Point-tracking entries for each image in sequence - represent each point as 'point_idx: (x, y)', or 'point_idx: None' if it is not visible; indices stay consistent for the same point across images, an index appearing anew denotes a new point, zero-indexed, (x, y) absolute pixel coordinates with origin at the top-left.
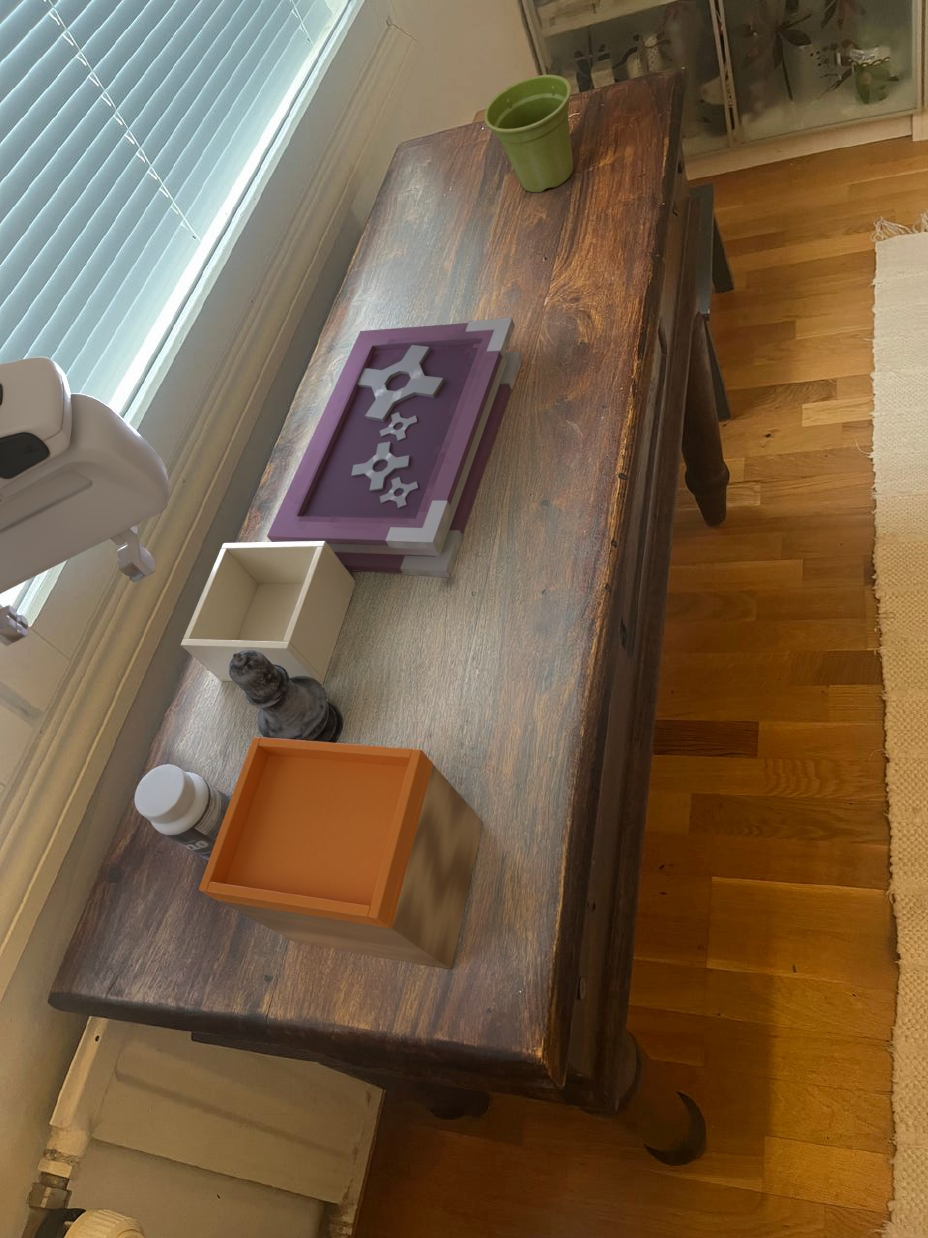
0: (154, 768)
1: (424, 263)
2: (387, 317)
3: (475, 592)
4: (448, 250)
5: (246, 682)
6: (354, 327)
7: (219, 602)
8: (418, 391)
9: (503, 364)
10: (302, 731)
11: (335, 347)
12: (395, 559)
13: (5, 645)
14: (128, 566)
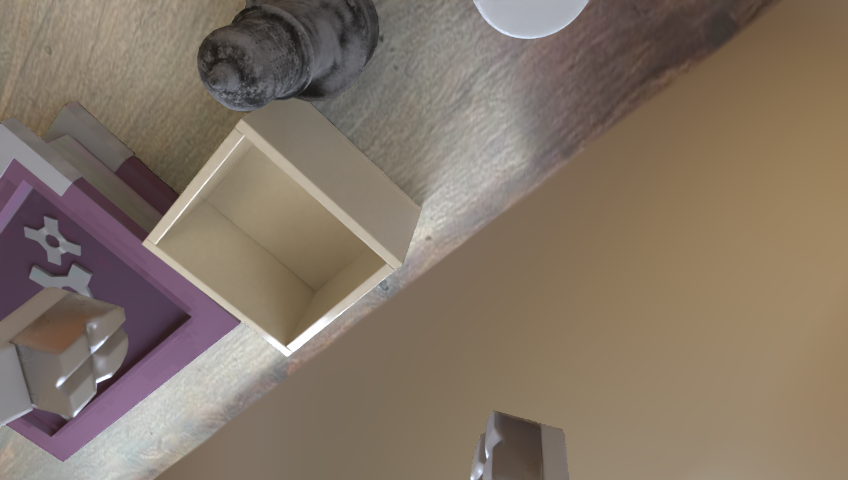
0: (520, 36)
1: (33, 472)
2: (84, 454)
3: (45, 50)
4: (6, 465)
5: (244, 33)
6: (121, 472)
7: (340, 290)
8: None
9: None
10: None
11: (146, 469)
12: (129, 178)
13: (564, 434)
14: (33, 341)
